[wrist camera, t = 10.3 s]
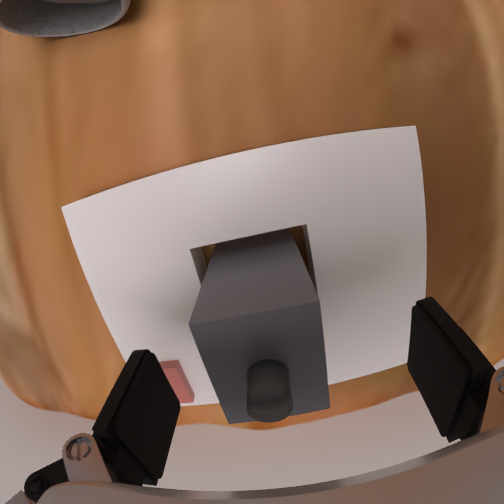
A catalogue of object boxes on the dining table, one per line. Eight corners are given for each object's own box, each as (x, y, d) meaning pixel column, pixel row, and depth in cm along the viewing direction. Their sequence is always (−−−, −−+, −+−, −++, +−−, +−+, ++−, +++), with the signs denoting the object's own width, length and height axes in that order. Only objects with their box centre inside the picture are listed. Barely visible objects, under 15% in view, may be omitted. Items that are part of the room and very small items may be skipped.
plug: (289, 228, 16) (331, 331, 7) (302, 307, 18) (337, 439, 9) (216, 242, 17) (177, 356, 7) (237, 319, 18) (226, 455, 9)
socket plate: (394, 126, 14) (422, 125, 11) (405, 338, 19) (423, 364, 16) (83, 198, 16) (54, 210, 13) (160, 384, 20) (150, 414, 17)
